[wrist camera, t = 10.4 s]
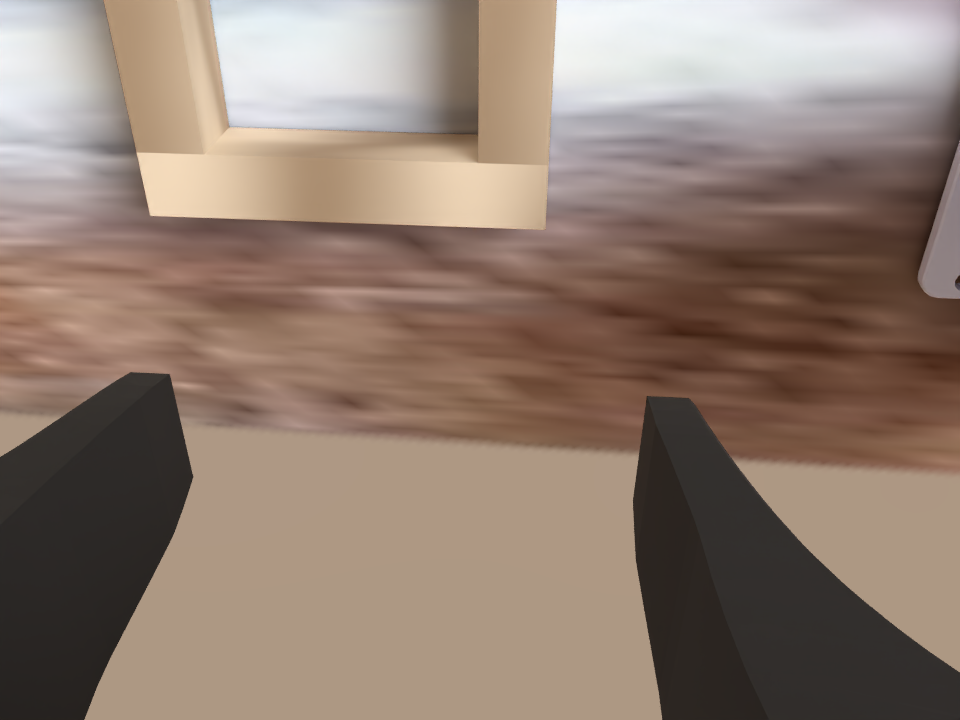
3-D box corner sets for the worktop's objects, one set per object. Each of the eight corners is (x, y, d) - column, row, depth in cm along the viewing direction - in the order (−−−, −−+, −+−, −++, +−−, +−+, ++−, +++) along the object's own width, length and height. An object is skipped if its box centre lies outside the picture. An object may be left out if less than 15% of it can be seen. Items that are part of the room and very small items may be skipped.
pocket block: (568, -262, 16) (569, -267, 15) (546, 197, 21) (545, 229, 20) (91, -265, 17) (45, -269, 15) (178, 185, 22) (150, 215, 20)
